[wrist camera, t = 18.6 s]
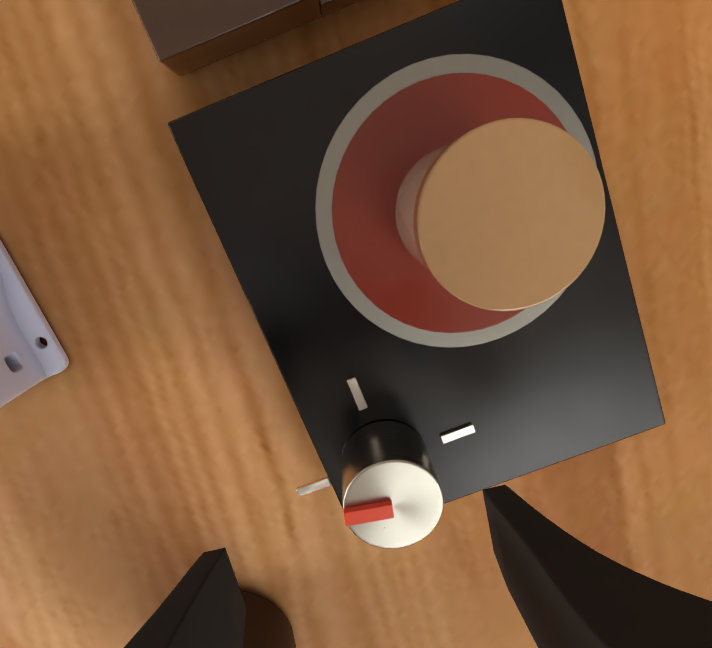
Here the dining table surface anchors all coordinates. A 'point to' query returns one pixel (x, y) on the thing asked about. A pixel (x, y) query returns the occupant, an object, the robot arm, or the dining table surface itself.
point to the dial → (389, 486)
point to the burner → (386, 173)
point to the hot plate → (380, 348)
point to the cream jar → (503, 213)
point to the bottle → (265, 625)
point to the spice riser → (220, 26)
